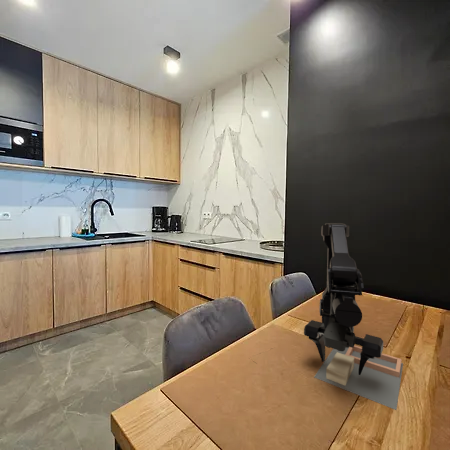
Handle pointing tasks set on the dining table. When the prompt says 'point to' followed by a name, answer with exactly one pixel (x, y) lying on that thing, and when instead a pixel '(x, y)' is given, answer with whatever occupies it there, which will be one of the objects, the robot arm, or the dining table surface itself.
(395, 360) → the frame
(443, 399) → the dining table surface
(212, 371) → the dining table surface
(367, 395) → the mat
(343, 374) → the tan oblong block
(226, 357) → the dining table surface
